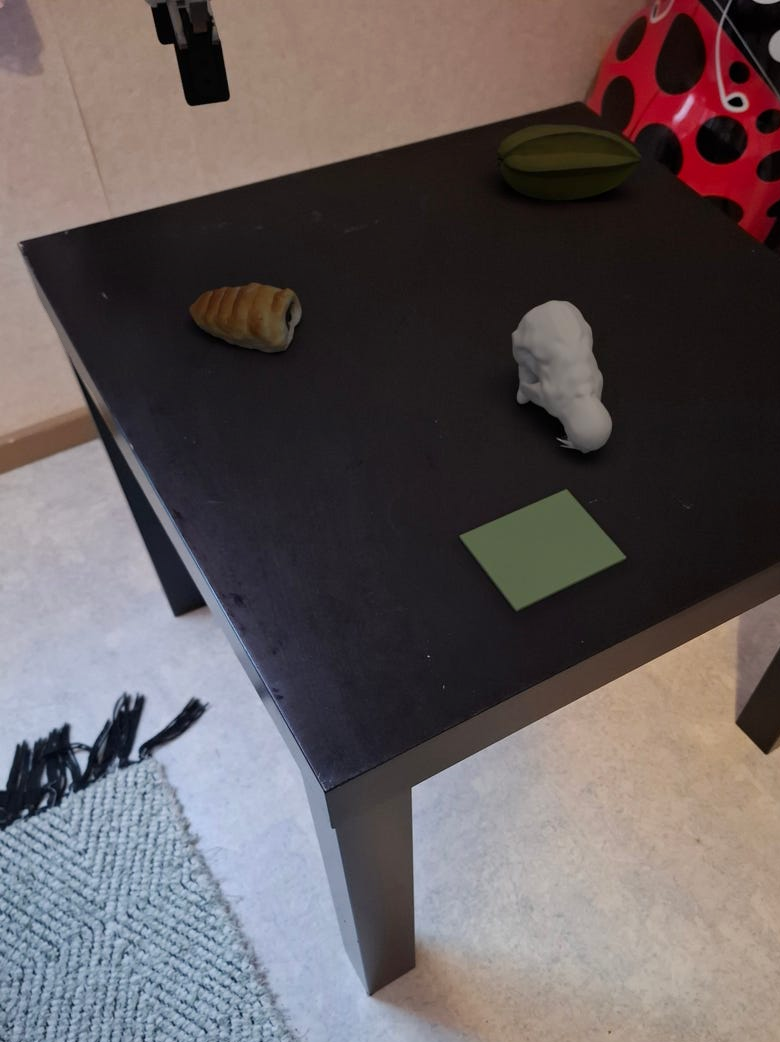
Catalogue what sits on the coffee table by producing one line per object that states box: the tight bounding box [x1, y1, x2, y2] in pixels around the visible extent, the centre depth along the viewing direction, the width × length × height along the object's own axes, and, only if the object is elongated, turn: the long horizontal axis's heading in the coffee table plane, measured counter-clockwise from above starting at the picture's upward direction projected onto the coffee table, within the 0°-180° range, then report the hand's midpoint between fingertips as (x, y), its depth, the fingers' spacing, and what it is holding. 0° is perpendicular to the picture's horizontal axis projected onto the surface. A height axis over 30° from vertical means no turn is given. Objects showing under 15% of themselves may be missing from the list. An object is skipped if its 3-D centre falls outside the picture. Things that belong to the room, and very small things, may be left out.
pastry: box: [189, 282, 303, 353], centre depth 80 cm, size 9×7×4 cm
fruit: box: [496, 123, 643, 201], centre depth 94 cm, size 11×12×7 cm
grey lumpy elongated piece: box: [511, 300, 613, 454], centre depth 74 cm, size 6×8×12 cm
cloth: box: [458, 488, 627, 613], centre depth 69 cm, size 10×8×1 cm
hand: (193, 70), depth 69 cm, fingers open, 9 cm apart
